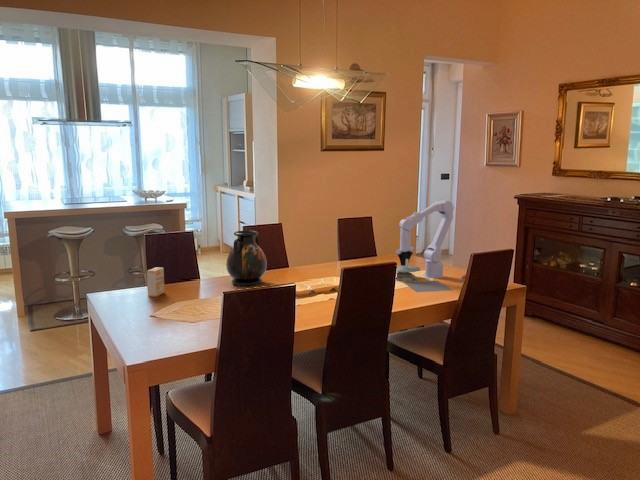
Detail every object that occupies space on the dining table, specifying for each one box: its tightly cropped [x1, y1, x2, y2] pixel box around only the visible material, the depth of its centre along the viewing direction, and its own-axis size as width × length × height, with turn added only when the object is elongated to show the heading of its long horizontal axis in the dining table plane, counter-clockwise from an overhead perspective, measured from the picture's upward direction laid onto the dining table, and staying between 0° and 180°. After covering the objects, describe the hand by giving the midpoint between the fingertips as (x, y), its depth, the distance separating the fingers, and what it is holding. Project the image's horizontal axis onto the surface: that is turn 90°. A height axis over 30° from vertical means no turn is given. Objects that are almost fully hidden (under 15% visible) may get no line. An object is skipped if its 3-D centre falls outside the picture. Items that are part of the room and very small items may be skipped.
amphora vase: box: [225, 230, 268, 287], centre depth 273 cm, size 22×22×28 cm
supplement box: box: [146, 266, 165, 298], centre depth 252 cm, size 8×5×13 cm, turn 168°
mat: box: [402, 280, 454, 293], centre depth 269 cm, size 20×20×1 cm
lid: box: [396, 259, 421, 273], centre depth 285 cm, size 17×17×6 cm
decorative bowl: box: [396, 272, 418, 282], centre depth 286 cm, size 15×4×15 cm
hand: (404, 264), depth 285 cm, fingers closed on lid, 3 cm apart
